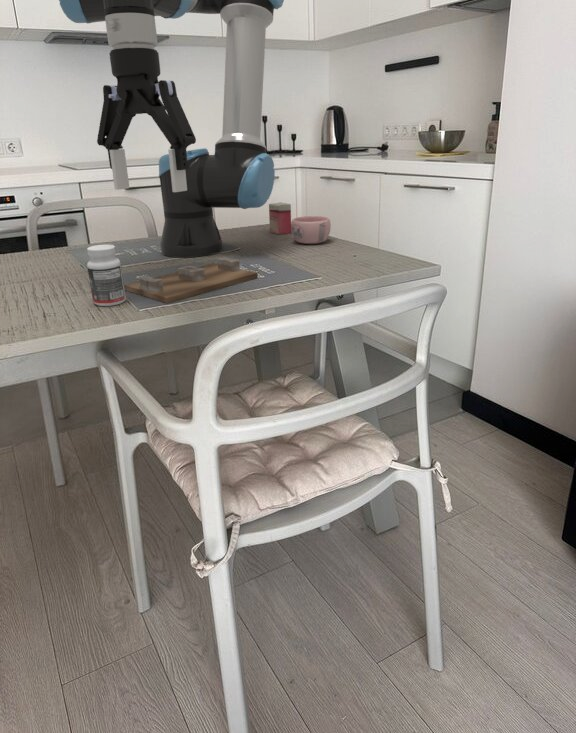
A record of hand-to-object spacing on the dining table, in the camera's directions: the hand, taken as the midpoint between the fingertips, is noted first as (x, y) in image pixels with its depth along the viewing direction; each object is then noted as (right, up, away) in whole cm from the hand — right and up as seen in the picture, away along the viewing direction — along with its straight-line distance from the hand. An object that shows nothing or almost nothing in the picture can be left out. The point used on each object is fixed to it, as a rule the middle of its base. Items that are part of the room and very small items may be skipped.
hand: (150, 190), depth 98 cm
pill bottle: (-8, -19, +5) cm, 21 cm away
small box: (+22, +7, +63) cm, 67 cm away
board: (+5, -14, +15) cm, 21 cm away
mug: (+29, +2, +50) cm, 57 cm away
